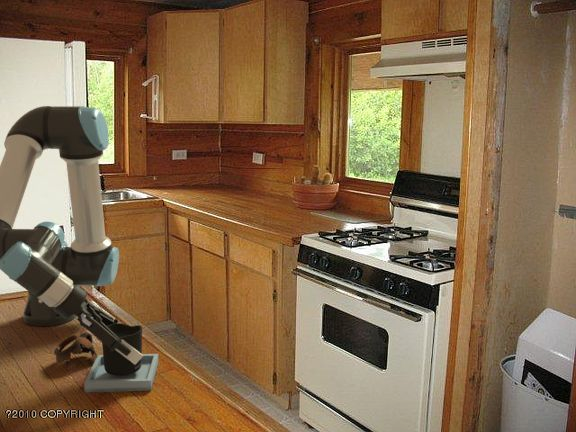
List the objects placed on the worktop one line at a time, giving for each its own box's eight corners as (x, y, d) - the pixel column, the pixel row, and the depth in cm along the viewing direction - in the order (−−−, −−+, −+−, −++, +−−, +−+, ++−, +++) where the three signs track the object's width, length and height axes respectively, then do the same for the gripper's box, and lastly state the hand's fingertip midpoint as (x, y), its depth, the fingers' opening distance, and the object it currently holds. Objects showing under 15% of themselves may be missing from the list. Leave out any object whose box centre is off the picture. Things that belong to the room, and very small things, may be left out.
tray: (98, 364, 152) (98, 355, 152) (158, 362, 154) (158, 353, 153) (84, 392, 138) (84, 382, 137) (151, 390, 139) (150, 380, 139)
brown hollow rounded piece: (94, 372, 149) (75, 348, 146) (63, 384, 151) (44, 361, 148) (109, 342, 160) (91, 319, 157) (80, 354, 162) (62, 331, 159)
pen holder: (111, 380, 139) (109, 340, 137) (97, 366, 147) (95, 327, 145) (149, 370, 145) (148, 331, 143) (134, 357, 152) (133, 319, 150)
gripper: (50, 293, 147) (120, 346, 156) (51, 324, 127) (131, 383, 135) (72, 270, 148) (140, 324, 156) (77, 298, 128) (154, 357, 136)
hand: (136, 351), depth 146 cm, fingers closed on pen holder, 9 cm apart
